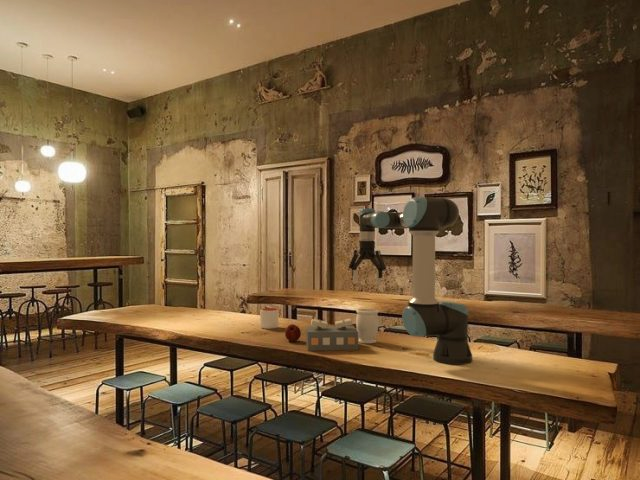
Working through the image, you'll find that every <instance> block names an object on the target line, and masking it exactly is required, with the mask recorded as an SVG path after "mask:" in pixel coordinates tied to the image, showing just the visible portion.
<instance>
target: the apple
mask: <svg viewBox="0 0 640 480" xmlns="http://www.w3.org/2000/svg"><path fill="white" fill-rule="evenodd" d="M284 335H285V339H287V341H288V342H297V341H298V340H299V339H300V338H301V335H302V333H301V328H300V327H299V326H298V325H296V324H289V325H288V326H287V327H286V329H285V333H284Z"/></svg>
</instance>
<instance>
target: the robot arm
mask: <svg viewBox="0 0 640 480" xmlns="http://www.w3.org/2000/svg"><path fill="white" fill-rule="evenodd" d="M459 216H460V211H459V206H458V205H457V204H456V202H454V201H453V200H452V199H450V198H447V197H445V198H444V197H428V196H417V197H414V196H413V197H411V198H410V199H408V201H407V202H406V204H405V206H404V207H403V211H401V212H398V211H397V212H393V211H392V212H391V211H379V210H378V211H376V210H375V208H361V209H359V216H358V218H359V238H358V240H360V241H359V245H358V247H359V249H355V250H354V251H353V256H352V259H351V260H350V262H349V266H348V269H351V276H352V277H353V278H352V279H353V281H352V283H353V284H358V283H359V282H358V278H359V277H358V276H359V270H358V267H359V266H360V265H361V263H362V262H363V261H365V260H367V261H368V260H370V261H371V263H372V264H373V265H374V266H375V268H376V269H377V271H376V286H381V285H382V279H383V271H386V270H387V266H386V265H385V262H384V259H383V257H382V254H381V253H382V252H381V250H375V249H376V242H375V240H376V229H403V230H404V229H406V230H407V229H408V233H410V234H411V236H412V290H411V291H412V292H411V293H412V296H411V298H410V299H409V300H408V306H406V307H404V309H403V311H402V315H401V319H402V324H403V326H404V328H405V330H406V333H408V334H409V335H410V336H411V337H416V338H417V337H420V338H423V337H430V336H431V337H432V336H433V337H434V336H437V341H436V344H435V347H434V350H433V355H432V359H433V361H436V362H438V363H442V364H447V365H468V364H471V363H472V362H473V353H472V351H471V348H470V344H469V340H468V336H469V335H468V331H469V330H468V329H469V326H468V325H469V323H468V322H469V319H468V318H469V312H468V311H469V310H468V306H467V305H466V304H463V303H461V302H460V303H459V302H454V301H453V302H452V301H443V300H438V299H436V237H437V235H438V234H439V233H440V228H448V227H450V226H453V225H454V224H455V223H456V222H458V219H459Z"/></svg>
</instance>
